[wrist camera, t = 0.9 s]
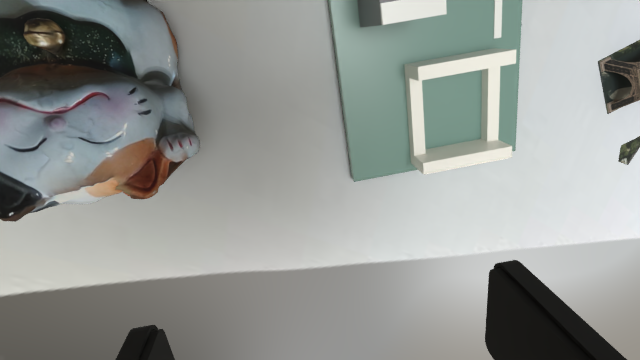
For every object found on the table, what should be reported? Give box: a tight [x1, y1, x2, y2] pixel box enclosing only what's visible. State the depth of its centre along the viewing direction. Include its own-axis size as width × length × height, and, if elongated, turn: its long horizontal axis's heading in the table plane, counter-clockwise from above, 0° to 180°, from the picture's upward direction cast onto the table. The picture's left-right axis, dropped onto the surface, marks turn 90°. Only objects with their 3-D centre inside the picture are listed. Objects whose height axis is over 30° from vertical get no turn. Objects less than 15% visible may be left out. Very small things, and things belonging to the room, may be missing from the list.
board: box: [328, 0, 522, 182], centre depth 28 cm, size 20×15×4 cm
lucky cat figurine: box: [0, 0, 200, 221], centre depth 23 cm, size 15×12×14 cm
